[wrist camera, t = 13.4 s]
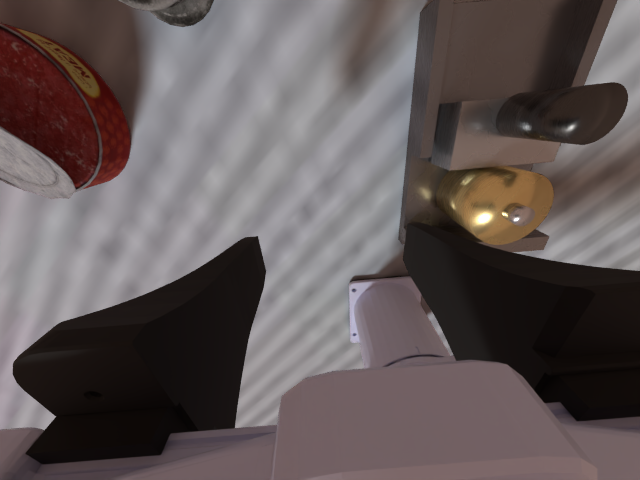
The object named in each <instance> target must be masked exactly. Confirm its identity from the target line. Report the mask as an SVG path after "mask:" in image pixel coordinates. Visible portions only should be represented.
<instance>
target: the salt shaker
mask: <svg viewBox="0 0 640 480" xmlns="http://www.w3.org/2000/svg"><path fill="white" fill-rule="evenodd" d="M118 1H120V2H122V3H124V4H126V5H129V6H131V7H133V8H135V9H140V10H146V11H150V12H151V13H152V14H153V15H154V16H156V17H157V18H158V19H160V20H162V21H164V22H166V23H168V24H170V25H174V26H180V27H185V26H191V25H194V24H196V23H197V22H199V21H201V20H202V19H203V18H204V17H205V15H206V14H207V13H208V12H209V10H210V8H211V5H212V3H213V0H118Z"/></svg>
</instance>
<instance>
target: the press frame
mask: <svg viewBox="0 0 640 480" xmlns="http://www.w3.org/2000/svg"><path fill="white" fill-rule="evenodd" d="M616 3H617V0H487V1H476V2H465V3H455V4H454V0H433V1H432V2H431V3H430V4H429V5H428V6H427V7H426V8H425V9H424V10H423V11H422V12H420V21H419V32H418V42H417V52H416V63H415V73H414V83H413V94H412V104H411V114H410V125H409V135H408V145H407V156H406V166H405V176H404V187H403V197H402V207H401V218H400V228H399V241H400V242H401V244H405V237H406V228H407V223H419V222H420V223H424V224H428V225H431V226H433V227H436V228H439V229H441V230H444V231H447V232H449V233H452V234H454V235H457V236H460V237H463V238H465V239H468V240H471V241H474V242H477V243H480V244H483V245H486V246H490V247H493V248H497V249H501V250H504V251H508V252H522V251H534V250H544V247H545V245H546V243H547V241H548V238H549V236H548V235H546V234H544V233H542V232H540V231H538V230H536V229H534V230H533V231H532V232H531V233H529V234H528V235H526V236H525V237H523V238H521V239H519V240H517V241H514V242H512V243H508V244H503V245H492V244H488V243H485V242H483V241H481V240H480V239H479V238H477V237H476V236H475V235H473V234H472V233H470V232H469V231H468V230H466V229H465V228H464V227H462V226H461V225H459V224H458V223H457V222H455V221H454V220H453V219H451V218H450V217H448V216H447V215H446V214H444V213H443V212H442V211H441V210H440V209H439V207H438V205H437V201H436V193H437V189H438V186H439V184H440V182H441V180H442V178H443V177H444V176H445V174H446V173H447V172H448V171H449V170H447V169H444V168H442V167H439V166H437V165H434V164H432V163H431V157H432V150H433V143H434V136H435V130H436V123H437V116H438V109H439V104H444V103H455V102H465V101H477V100H488V99H499V98H510V97H512V96H514V95H516V94H518V93H523V92H532V91H540V90H549V89H558V88H567V87H576V86H584V84H585V82H586V79H587V76H588V74H589V71H590V69H591V66H592V64H593V61H594V59H595V56H596V54H597V51H598V48H599V46H600V43H601V41H602V38H603V36H604V33H605V31H606V28H607V26H608V23H609V20H610V18H611V15H612V13H613V10H614V8H615V5H616ZM560 145H561V143H560ZM508 166H510V167H514V168H518V169H522V170H526V171H530V172H531V169H532V166H533V163H531V164H519V165H508Z"/></svg>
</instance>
